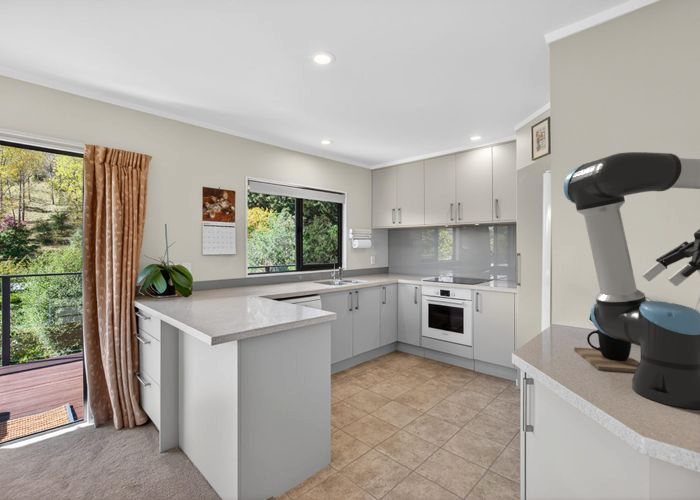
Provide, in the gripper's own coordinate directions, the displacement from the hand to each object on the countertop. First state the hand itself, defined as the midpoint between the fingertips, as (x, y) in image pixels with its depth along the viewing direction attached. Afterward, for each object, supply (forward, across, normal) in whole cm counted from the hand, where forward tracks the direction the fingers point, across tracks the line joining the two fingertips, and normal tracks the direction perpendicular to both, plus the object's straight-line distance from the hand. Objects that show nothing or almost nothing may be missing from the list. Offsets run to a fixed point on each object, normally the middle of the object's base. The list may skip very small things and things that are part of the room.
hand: (657, 280), depth 106 cm
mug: (+28, +2, -10) cm, 29 cm away
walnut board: (+28, +2, -11) cm, 30 cm away
